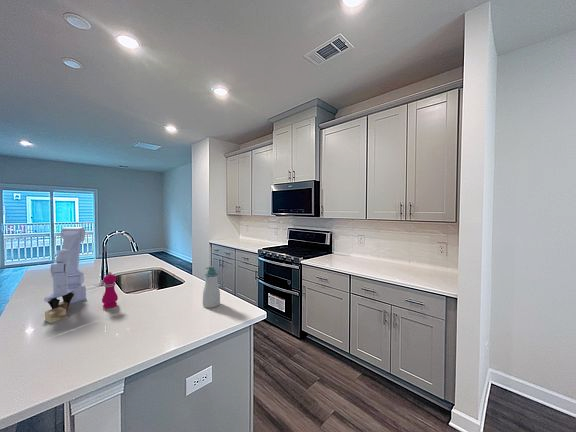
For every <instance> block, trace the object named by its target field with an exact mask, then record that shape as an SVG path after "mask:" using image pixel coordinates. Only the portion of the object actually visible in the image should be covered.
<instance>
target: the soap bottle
mask: <svg viewBox="0 0 576 432" xmlns="http://www.w3.org/2000/svg"><path fill="white" fill-rule="evenodd" d="M205 269H206V270H207V272H206V273H205V274H204V276H205V283H204V287H203V290H202V306H203V308H207V309H212V308H216V307H219V306H220V303H221V291H220V287H219V281H218V275H219V273H218V272H217V271H216V269H215V266H214V265H210V266H208V267H205Z"/></svg>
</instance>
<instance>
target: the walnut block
mask: <svg viewBox="0 0 576 432" xmlns="http://www.w3.org/2000/svg"><path fill="white" fill-rule="evenodd" d="M62 301H63V300H62ZM58 307H62V308H64V309H66V312H68V311H69V309H68V308H69V307H68V303H67V302H65V301H63V302H61V301H59V305H58Z"/></svg>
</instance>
